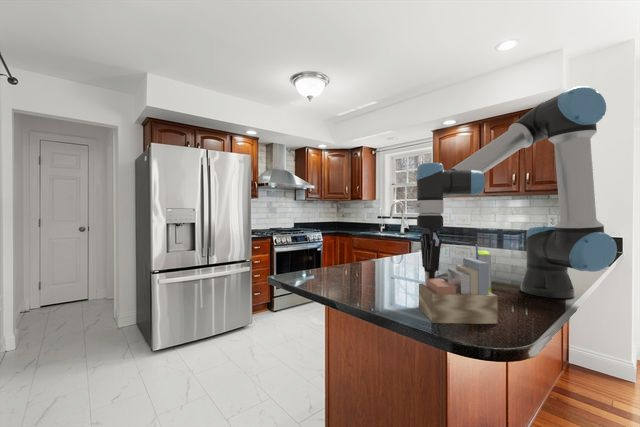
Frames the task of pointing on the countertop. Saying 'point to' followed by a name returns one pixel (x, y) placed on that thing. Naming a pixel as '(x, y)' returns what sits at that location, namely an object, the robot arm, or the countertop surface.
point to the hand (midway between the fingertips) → (430, 292)
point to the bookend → (459, 281)
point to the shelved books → (476, 275)
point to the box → (486, 258)
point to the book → (440, 286)
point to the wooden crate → (458, 307)
